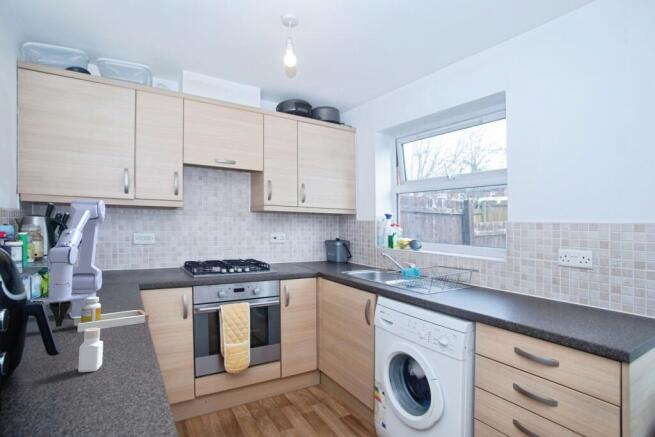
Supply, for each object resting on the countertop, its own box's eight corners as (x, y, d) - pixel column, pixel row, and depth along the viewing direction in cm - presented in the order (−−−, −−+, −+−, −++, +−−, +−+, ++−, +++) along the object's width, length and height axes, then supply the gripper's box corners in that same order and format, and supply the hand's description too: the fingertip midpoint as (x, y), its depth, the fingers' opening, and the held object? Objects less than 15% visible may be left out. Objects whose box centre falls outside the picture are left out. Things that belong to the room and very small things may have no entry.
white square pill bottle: (96, 371, 80) (98, 331, 80) (77, 373, 79) (79, 332, 79) (102, 365, 84) (104, 326, 84) (84, 366, 83) (86, 327, 83)
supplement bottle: (96, 323, 119) (98, 295, 119) (102, 326, 115) (103, 297, 116) (78, 326, 115) (80, 297, 115) (83, 329, 111) (85, 300, 112)
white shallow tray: (74, 324, 116) (74, 317, 116) (140, 316, 130) (141, 309, 130) (77, 332, 109) (78, 324, 109) (148, 321, 122) (148, 315, 122)
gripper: (31, 287, 102) (28, 332, 102) (89, 283, 112) (87, 324, 111) (31, 284, 107) (28, 327, 107) (86, 280, 117) (84, 320, 117)
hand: (58, 325), depth 109 cm, fingers closed
